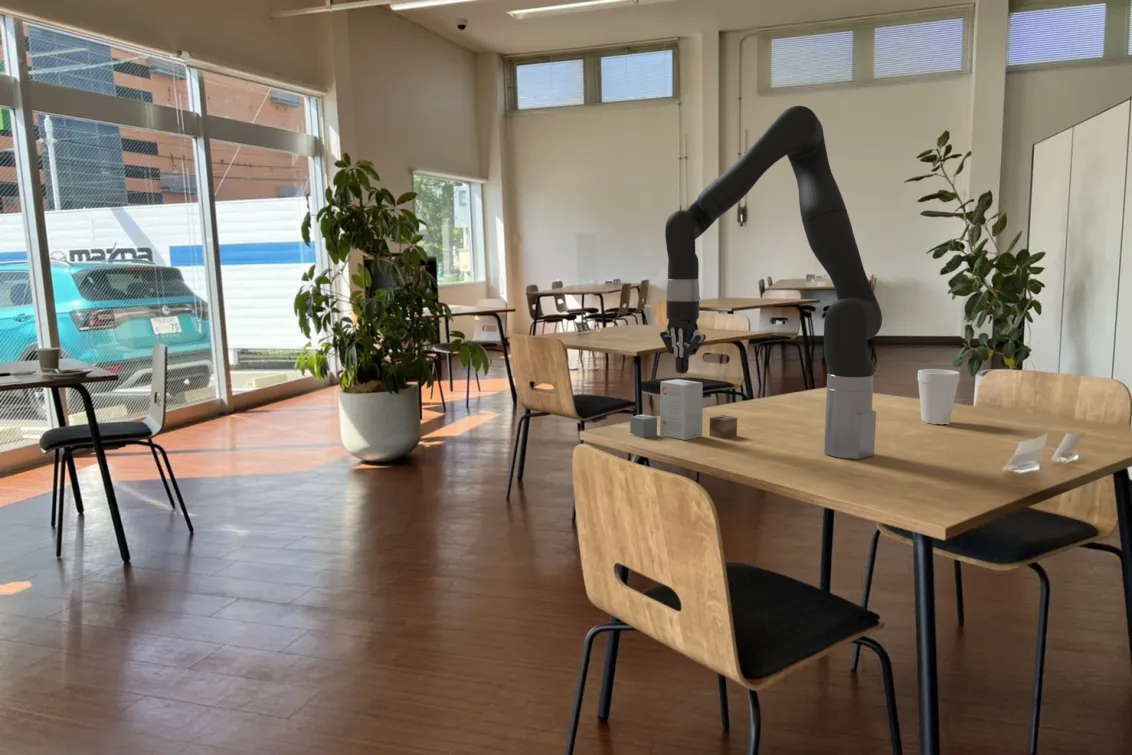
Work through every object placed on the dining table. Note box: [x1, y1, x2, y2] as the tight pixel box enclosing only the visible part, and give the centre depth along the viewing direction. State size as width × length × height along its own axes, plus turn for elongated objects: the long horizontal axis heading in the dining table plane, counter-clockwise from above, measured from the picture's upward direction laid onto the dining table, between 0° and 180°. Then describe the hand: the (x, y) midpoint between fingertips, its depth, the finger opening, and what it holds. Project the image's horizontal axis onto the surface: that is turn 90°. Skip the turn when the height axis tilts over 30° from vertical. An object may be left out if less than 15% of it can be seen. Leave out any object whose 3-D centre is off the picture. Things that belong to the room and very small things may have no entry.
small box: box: [659, 378, 704, 441], centre depth 190 cm, size 8×6×13 cm
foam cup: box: [917, 368, 960, 423], centre depth 203 cm, size 10×9×13 cm
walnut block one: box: [709, 414, 738, 440], centre depth 191 cm, size 4×4×5 cm
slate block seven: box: [629, 414, 658, 439], centre depth 192 cm, size 4×4×5 cm
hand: (681, 372), depth 189 cm, fingers closed
